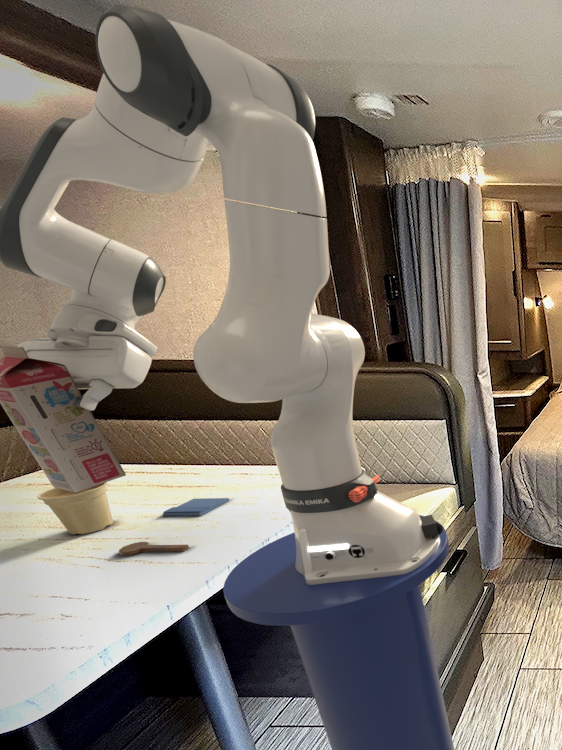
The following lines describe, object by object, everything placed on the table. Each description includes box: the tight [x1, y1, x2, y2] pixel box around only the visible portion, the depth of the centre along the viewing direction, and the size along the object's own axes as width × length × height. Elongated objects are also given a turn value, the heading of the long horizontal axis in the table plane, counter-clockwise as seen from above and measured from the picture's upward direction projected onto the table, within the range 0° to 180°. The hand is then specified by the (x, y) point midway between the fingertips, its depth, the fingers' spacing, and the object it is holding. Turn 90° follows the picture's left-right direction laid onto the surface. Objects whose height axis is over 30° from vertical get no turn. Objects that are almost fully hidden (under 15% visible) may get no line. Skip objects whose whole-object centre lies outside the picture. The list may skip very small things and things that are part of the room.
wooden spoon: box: [118, 541, 190, 557], centre depth 91 cm, size 12×4×1 cm, turn 90°
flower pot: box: [37, 482, 114, 535], centre depth 99 cm, size 9×9×9 cm
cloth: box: [162, 497, 230, 517], centre depth 109 cm, size 8×8×1 cm
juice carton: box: [0, 345, 127, 493], centre depth 78 cm, size 7×7×22 cm
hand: (53, 409), depth 78 cm, fingers closed on juice carton, 8 cm apart
